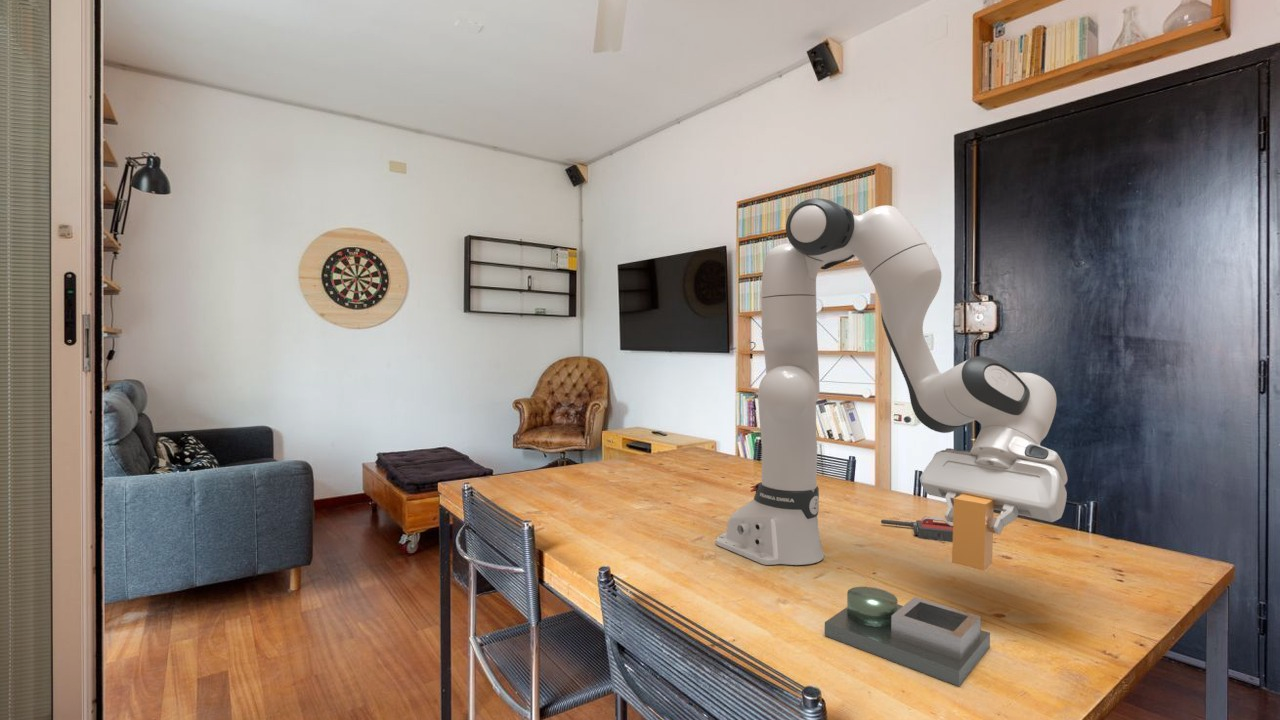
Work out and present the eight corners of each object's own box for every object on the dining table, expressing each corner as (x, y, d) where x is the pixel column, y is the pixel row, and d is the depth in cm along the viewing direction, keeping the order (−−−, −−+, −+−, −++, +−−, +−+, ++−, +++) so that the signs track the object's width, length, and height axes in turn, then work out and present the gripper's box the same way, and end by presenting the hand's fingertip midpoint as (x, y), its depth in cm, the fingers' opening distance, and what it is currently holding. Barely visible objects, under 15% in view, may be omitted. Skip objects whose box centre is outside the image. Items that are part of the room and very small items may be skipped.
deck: (824, 635, 85) (824, 601, 85) (865, 606, 95) (865, 576, 95) (958, 686, 72) (959, 646, 72) (989, 646, 82) (990, 611, 82)
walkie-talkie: (974, 535, 134) (880, 525, 141) (974, 516, 134) (880, 507, 141) (981, 547, 126) (882, 536, 133) (982, 527, 125) (882, 517, 132)
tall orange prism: (952, 562, 90) (953, 498, 90) (960, 555, 93) (962, 493, 93) (983, 570, 87) (985, 504, 86) (992, 563, 90) (993, 499, 90)
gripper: (932, 435, 102) (900, 498, 96) (1069, 454, 85) (1039, 531, 80) (944, 458, 105) (913, 520, 99) (1080, 481, 88) (1051, 557, 82)
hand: (971, 525), depth 89 cm, fingers closed on tall orange prism, 5 cm apart
